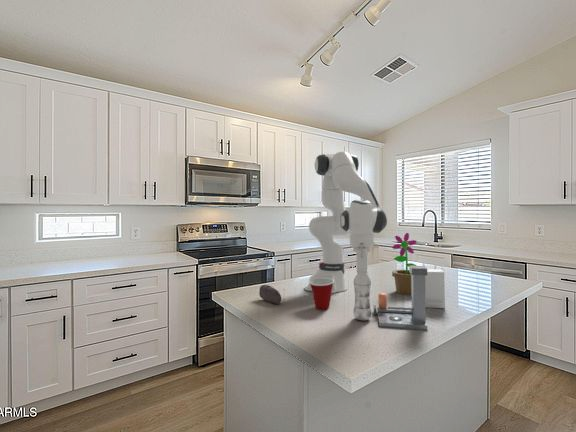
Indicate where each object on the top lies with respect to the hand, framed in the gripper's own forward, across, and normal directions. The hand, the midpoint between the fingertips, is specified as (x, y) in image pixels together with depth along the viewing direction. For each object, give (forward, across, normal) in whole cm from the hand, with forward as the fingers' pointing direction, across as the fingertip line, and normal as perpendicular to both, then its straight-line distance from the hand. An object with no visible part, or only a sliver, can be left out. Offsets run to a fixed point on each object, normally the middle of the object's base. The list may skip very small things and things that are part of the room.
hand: (362, 278), depth 116 cm
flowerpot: (+16, +44, -22) cm, 52 cm away
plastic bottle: (+16, +1, 0) cm, 16 cm away
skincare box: (+16, +24, -30) cm, 41 cm away
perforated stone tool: (+16, +16, +41) cm, 47 cm away
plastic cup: (+16, +12, +17) cm, 26 cm away
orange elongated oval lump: (+15, +8, -8) cm, 19 cm away
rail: (+16, +8, -14) cm, 23 cm away
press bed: (+16, 0, -14) cm, 21 cm away
